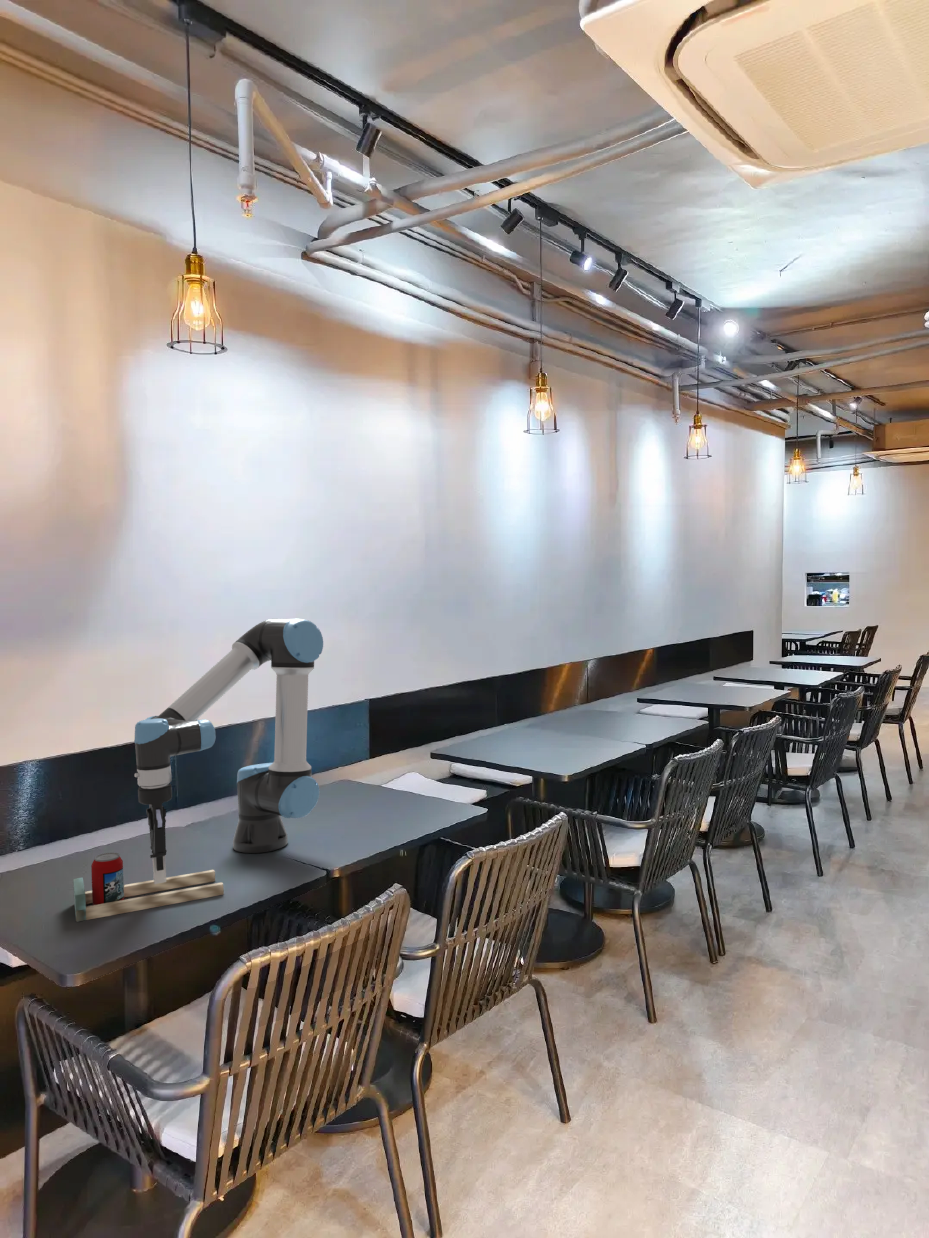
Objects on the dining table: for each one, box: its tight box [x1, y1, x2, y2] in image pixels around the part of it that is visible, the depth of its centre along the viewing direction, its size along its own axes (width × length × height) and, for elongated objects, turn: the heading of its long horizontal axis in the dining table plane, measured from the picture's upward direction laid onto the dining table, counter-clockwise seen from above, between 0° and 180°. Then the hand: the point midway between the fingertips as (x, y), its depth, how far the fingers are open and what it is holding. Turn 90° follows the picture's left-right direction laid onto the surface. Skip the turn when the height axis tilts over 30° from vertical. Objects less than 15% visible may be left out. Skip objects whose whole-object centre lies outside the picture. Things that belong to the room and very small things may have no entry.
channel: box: [72, 869, 225, 923], centre depth 197 cm, size 32×12×6 cm, turn 117°
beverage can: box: [90, 852, 125, 906], centre depth 192 cm, size 7×7×12 cm
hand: (160, 881), depth 198 cm, fingers closed
